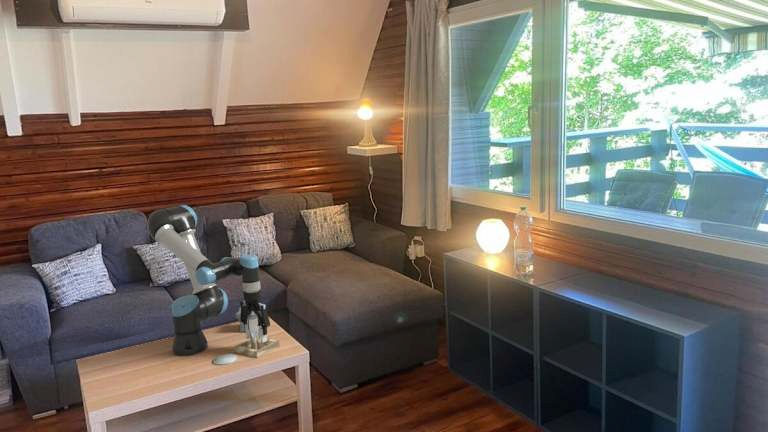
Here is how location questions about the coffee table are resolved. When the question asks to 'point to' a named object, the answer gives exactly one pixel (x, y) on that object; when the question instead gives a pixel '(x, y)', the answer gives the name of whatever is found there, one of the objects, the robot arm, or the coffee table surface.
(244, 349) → the frame
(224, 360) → the white glossy dome
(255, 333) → the silver tall cylindrical piece
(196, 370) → the coffee table surface
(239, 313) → the incense holder
